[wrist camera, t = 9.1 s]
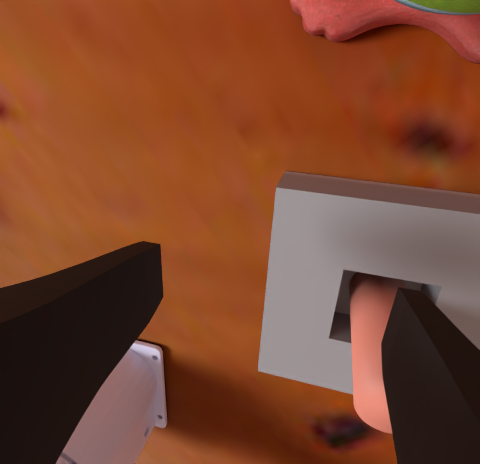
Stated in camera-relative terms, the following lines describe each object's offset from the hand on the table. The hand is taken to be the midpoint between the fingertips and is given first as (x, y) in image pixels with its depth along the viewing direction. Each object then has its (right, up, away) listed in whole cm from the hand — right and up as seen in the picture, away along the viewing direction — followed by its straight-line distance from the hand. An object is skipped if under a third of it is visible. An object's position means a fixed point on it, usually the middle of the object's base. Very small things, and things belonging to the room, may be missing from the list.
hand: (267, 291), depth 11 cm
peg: (+7, -1, +9) cm, 12 cm away
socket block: (+7, -1, +10) cm, 12 cm away
